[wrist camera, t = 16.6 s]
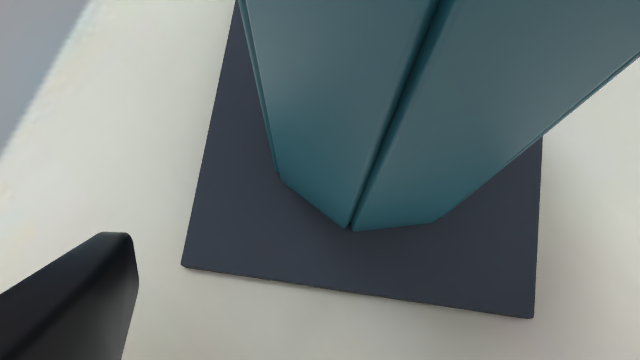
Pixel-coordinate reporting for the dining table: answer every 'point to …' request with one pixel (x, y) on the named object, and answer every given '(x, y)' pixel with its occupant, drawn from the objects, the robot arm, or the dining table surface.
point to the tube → (422, 93)
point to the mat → (342, 243)
